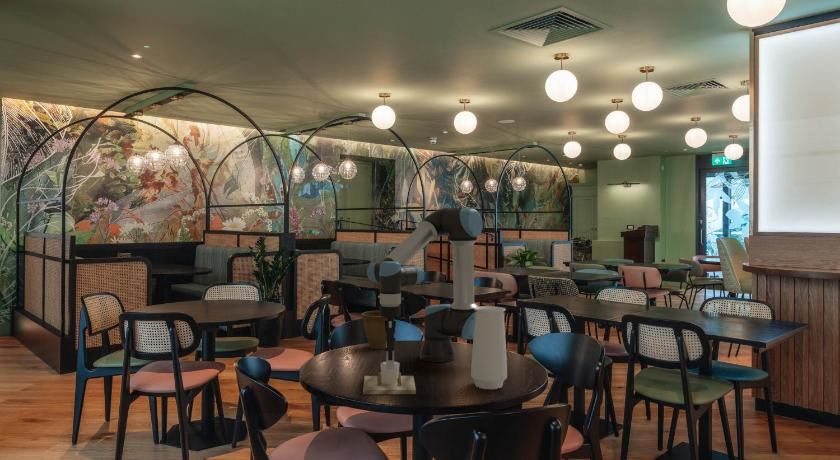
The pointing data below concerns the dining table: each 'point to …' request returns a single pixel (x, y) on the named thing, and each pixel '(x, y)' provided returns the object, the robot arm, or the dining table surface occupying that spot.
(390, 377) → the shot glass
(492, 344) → the vase
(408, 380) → the pin board
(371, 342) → the plant pot
